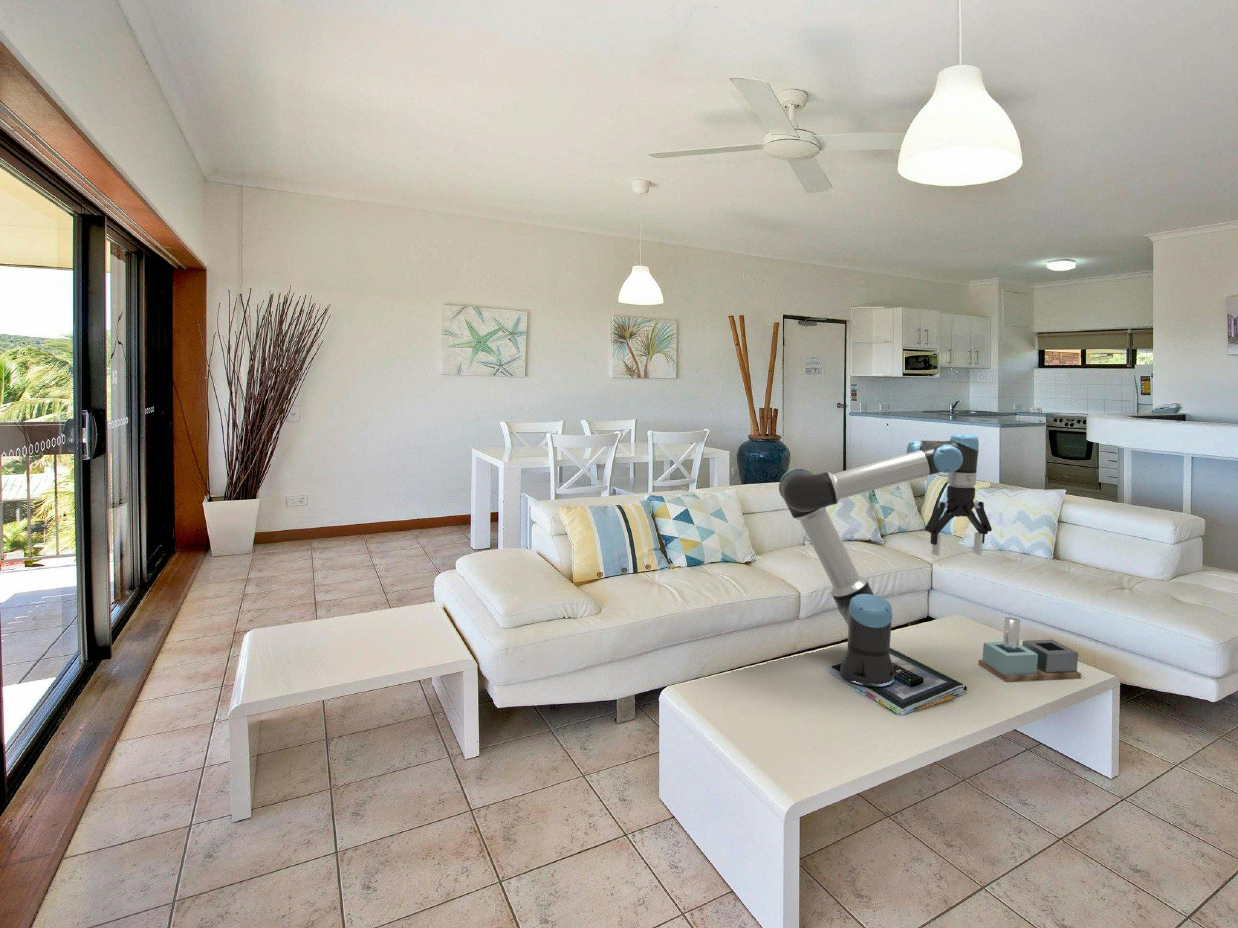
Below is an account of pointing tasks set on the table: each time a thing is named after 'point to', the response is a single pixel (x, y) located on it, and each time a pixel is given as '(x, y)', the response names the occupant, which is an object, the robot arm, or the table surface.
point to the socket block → (1053, 656)
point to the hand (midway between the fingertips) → (956, 554)
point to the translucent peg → (1011, 635)
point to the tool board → (1030, 675)
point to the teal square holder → (1010, 659)
